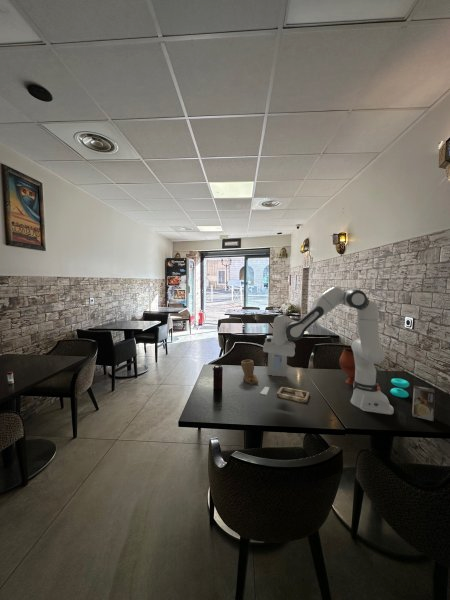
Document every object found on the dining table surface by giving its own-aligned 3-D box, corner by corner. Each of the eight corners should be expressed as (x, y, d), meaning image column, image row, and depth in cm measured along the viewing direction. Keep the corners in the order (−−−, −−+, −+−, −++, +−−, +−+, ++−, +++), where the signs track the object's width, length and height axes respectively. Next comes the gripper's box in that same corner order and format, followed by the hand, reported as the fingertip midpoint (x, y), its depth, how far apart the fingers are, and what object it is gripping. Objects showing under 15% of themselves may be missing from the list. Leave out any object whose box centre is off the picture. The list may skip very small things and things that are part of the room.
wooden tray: (309, 397, 162) (309, 392, 162) (306, 405, 151) (306, 399, 151) (281, 391, 170) (281, 386, 170) (276, 398, 159) (276, 393, 159)
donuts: (410, 380, 168) (407, 384, 161) (409, 395, 169) (406, 400, 162) (393, 376, 175) (389, 380, 168) (392, 390, 176) (388, 394, 169)
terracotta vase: (371, 390, 176) (373, 355, 174) (342, 387, 179) (344, 352, 177) (361, 379, 194) (363, 347, 193) (335, 377, 198) (337, 346, 196)
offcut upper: (301, 395, 161) (301, 392, 161) (303, 399, 156) (303, 396, 155) (294, 394, 162) (294, 391, 162) (296, 399, 156) (296, 396, 156)
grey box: (285, 373, 203) (286, 337, 201) (286, 376, 198) (287, 338, 195) (267, 372, 204) (268, 336, 202) (267, 375, 199) (269, 337, 197)
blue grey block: (281, 367, 167) (282, 354, 166) (278, 370, 161) (279, 356, 160) (276, 366, 168) (277, 353, 168) (273, 369, 162) (274, 355, 161)
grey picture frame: (432, 416, 142) (434, 388, 141) (433, 421, 136) (435, 393, 135) (411, 411, 147) (413, 384, 146) (412, 416, 142) (414, 388, 140)
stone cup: (240, 376, 195) (240, 357, 194) (255, 376, 196) (256, 357, 195) (241, 384, 180) (242, 363, 179) (258, 384, 181) (259, 364, 179)
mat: (278, 390, 172) (278, 389, 172) (273, 397, 161) (273, 396, 161) (265, 387, 176) (265, 386, 176) (259, 393, 165) (259, 393, 165)
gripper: (296, 341, 161) (295, 362, 162) (265, 336, 170) (264, 356, 171) (294, 343, 156) (293, 365, 157) (262, 338, 165) (261, 359, 166)
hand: (277, 360), depth 164 cm, fingers closed on blue grey block, 3 cm apart
